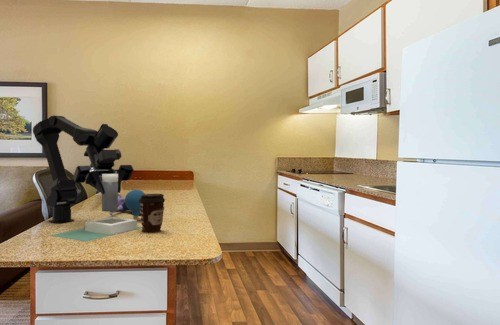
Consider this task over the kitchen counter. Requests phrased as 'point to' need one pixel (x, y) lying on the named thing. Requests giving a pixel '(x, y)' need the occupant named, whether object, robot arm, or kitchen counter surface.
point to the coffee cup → (151, 212)
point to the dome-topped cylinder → (110, 192)
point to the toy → (121, 205)
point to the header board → (82, 235)
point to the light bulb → (134, 202)
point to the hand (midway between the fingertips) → (111, 192)
